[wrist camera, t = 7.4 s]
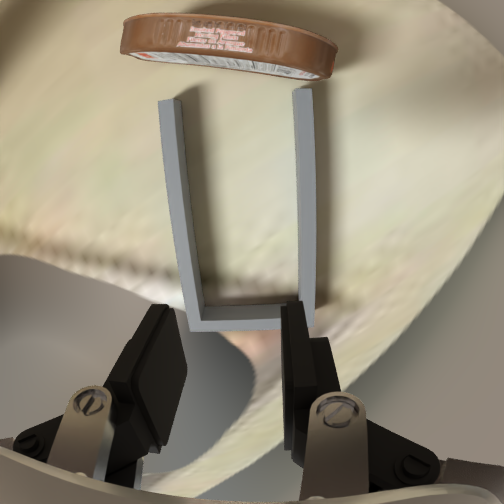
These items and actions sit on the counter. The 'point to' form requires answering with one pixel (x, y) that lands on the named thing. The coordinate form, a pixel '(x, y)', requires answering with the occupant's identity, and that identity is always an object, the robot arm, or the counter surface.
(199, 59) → the tin
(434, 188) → the counter surface
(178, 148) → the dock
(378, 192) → the counter surface
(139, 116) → the counter surface
